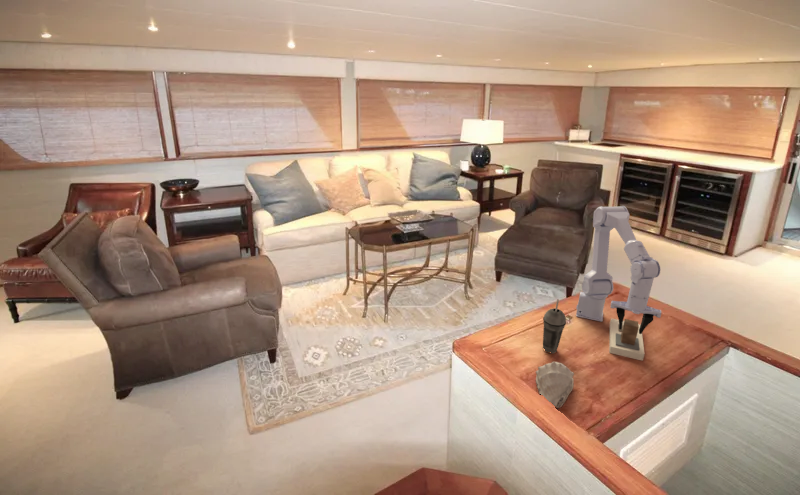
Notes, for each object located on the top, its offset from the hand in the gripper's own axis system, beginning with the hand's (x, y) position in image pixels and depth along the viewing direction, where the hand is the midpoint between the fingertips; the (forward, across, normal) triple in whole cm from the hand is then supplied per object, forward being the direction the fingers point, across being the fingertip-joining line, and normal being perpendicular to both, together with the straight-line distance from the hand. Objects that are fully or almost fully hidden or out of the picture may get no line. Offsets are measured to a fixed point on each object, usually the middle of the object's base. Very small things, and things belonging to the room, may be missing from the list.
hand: (630, 330), depth 141 cm
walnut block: (+4, 0, 0) cm, 4 cm away
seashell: (+8, -19, -33) cm, 39 cm away
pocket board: (+7, 0, +5) cm, 9 cm away
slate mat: (+5, 0, 0) cm, 5 cm away
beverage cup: (+8, -24, -12) cm, 27 cm away
